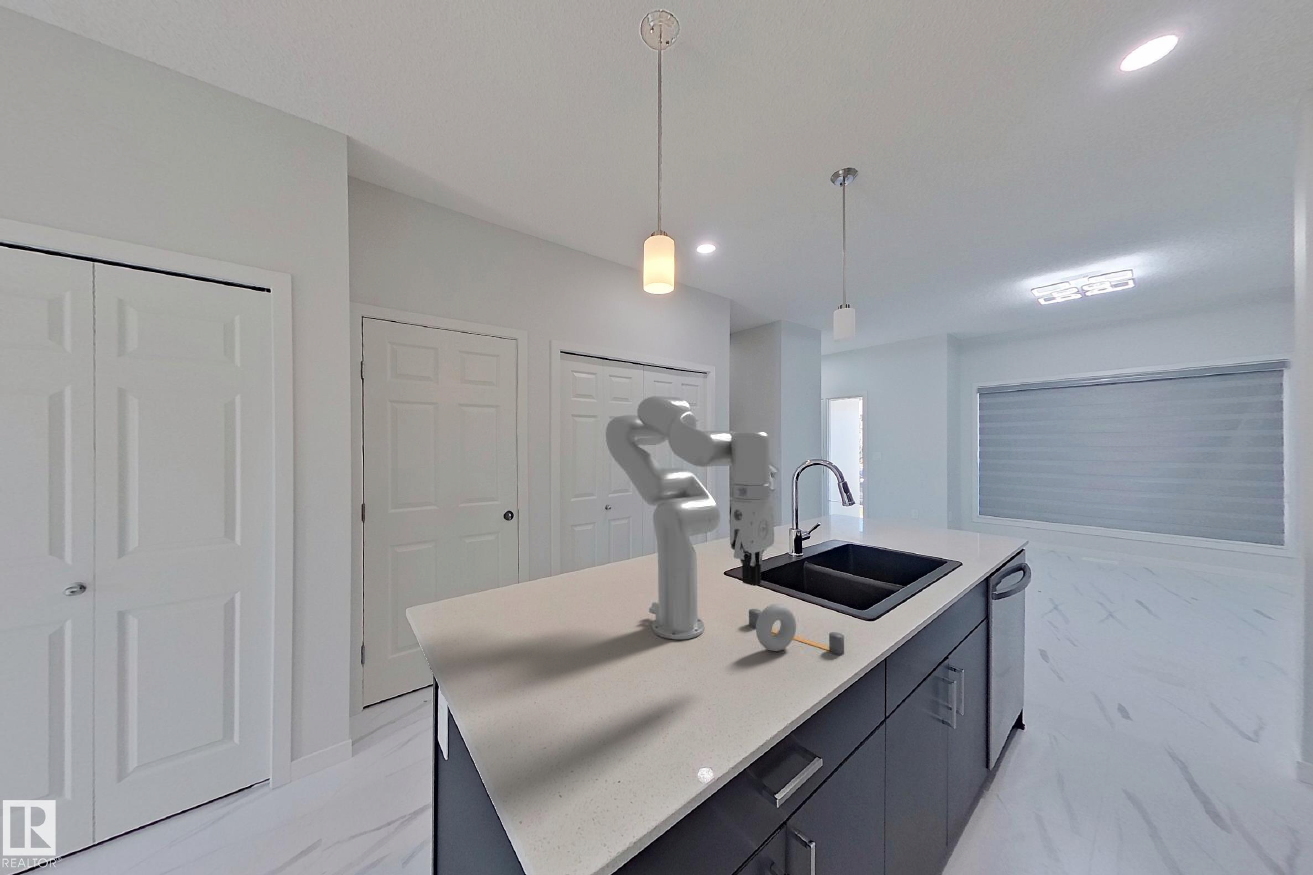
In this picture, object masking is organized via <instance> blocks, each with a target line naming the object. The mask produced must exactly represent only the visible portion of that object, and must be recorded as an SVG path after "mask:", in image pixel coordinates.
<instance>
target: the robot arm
mask: <svg viewBox="0 0 1313 875" xmlns="http://www.w3.org/2000/svg"><path fill="white" fill-rule="evenodd" d="M636 412H637V414H636V415H635V414H634V415H633V414H632V415H631V414H626V415H620V416H616V417H614V418H612V419H611V420H609V422H608V423H607V425H606V427H605V441H606V445H607V446H606V447H607V449H608V451H609V453H610V455H611V457H612V458H613V459H614V461H615V462H616V463H617V464H618V466H619V467H620V468H621V469H622V470H623V471H624V473H625V474H626V475H627V477H628V478H629V481H631V483H632V485H633V486H634V487H635V489H636V490H637V492H638V494H639V496H641V498H642V500H643V501H645V503H646V504H647V505H649V506H652V507H655V508H654V510H653V515H652V516H653V517H652V521H653V522H652V523H653V527H654V532H655V538H656V544H657V545H656V547H657V577H658V578H657V579H658V580H657V588H658V589H657V590H658V592H657V593H658V598H657V599H658V600H657V601H658V602H656V601H653V602H652V604H651V607H649V608H648V612H649V613H650V614H652V615H655V619H654V620H653V622H652V626H651V627H652V628H651V629H652V631H653V632H654V633H655V634H656V635H658V636H659V637H661V638H665V639H669V640H688V639H693V638H696V637H699V636H700V635H701V634H703V632H704V631H705V622H704V621H703V620H702V619H701V618H699V615H698V614H699V613H698V610H699V609H698V607H699V606H698V558H697V552H696V550H695V547H694V545H693V544H692V542H691V539H690V537H694V536H699V535H704V534H707V533H711V532H712V531H715V530H716V529H718V527H719V524H720V523H721V512H720V508H719V505H718V504H717V502H716V501H715V499H714V497H713V496H712V495H711V494H710V492H708V490H707V489H706V487H705V486H704V484H702V483H701V481H700V480H699V479H698V477H697V476H696V475H695V474H694V473H693V472H692V471H690V470H688V469H686V468H683V467H672V468H669V467H668V468H666V467H662V466H661V465H660V464H659V463H658V462H657V460H656V459H655V457H654V456H653V455H652V454H651V453H649V451H647V450H646V449H643V448H642V447H641V446H656V445H660V444H662V443H665V442H666V441H667V442H668V444H669V445H668V446H669V447H670V449H671V451H672V453H673V454H674V455H675V456H677V457H678V458H680V459H681V460H683V461H685V462H687V463H689V464H691V465H693V466H695V467H701V468H711V467H729V466H731V500H732V501H731V509H730V518H729V519H730V521H729V545H730V548H731V549H732V550H734V553H733V558H734V559H738V560H740V564H741V572H742V574H741V575H742V576H741V577H742V579H741V580H742V581H741V582H742V583H743V584H746V585H749V586H753V587H756V586H758V585H760V584H762V563H763V554H764V552H765V551H766V550H767V549H769V548H771V547H772V546H773V545H774V543H775V528H774V527H775V526H774V523H775V522H774V515H773V514H774V513H773V507H772V501H771V485H770V484H771V482H770V480H771V477H770V475H771V474H770V470H771V468H770V438H769V437H770V436H769V434H768V433H766V432H764V431H755V430H754V431H752V430H751V431H747V430H746V431H734V430H700V429H697V428H696V427H697V419H696V416H695V414H694V413H693V412H692V409H691V406H690V405H689V403H688V402H687V400H685V399H683V398H680V397H678V396H677V397H674V396H656V395H655V396H649V397H646V398H644V399H643V400H642V401H640V403H639V404H638V406H637V410H636Z"/></svg>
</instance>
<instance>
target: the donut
mask: <svg viewBox="0 0 1313 875" xmlns="http://www.w3.org/2000/svg"><path fill="white" fill-rule="evenodd" d="M777 621H780V628H778V632H777V633H776V634H775V633H772V629H773V626H774V624H775V623H776V622H777ZM796 621H797V620H796V618H795V615H794V613H793V611H792V610H791V609H790V608H789V607H788V606H787V605H784V604H782V603H773V604H770V605H767V606H766V607H765V608H764V609H763V610H761V614H760V615H759V617H758V620H757V623H756V628H755V633H756V638H757V640H758V642H759V644H760V645H761V646H762V647H763V648H765V650H768V651H771V652H780V651H783V650H784V649H786V648H787V647H788V646H790V645H791V643H792V641H793V640H794V639H793V638H794V636H796V631H797V622H796Z"/></svg>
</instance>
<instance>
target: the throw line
mask: <svg viewBox="0 0 1313 875" xmlns="http://www.w3.org/2000/svg"><path fill="white" fill-rule="evenodd" d="M761 612H762V610H760V609H758V608H751V609H748V626H749V627H750V628H752V629H756V623H757V620H758V617H759V615H760V614H761ZM778 631H779V629H778V630H777V629H774V628H772V634H776V633H777V632H778ZM828 637H829V638H828V643H829V644H828V645H824V644H822V643H818V642H816V641H812V640H809V639H806V638H803V637H800V636H797V635H794V638H793V640H794V641H798V642H800V643H804V644H807V645H811V646H813V647H816V648H819V649H822V650H825V651H829V653H832V654H833V655H836V656H841V655H842V656H843V655H844V654H845V636H844V634H843V633H841V632H837V631H836V632H835V631H832V632H829V633H828Z"/></svg>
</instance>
